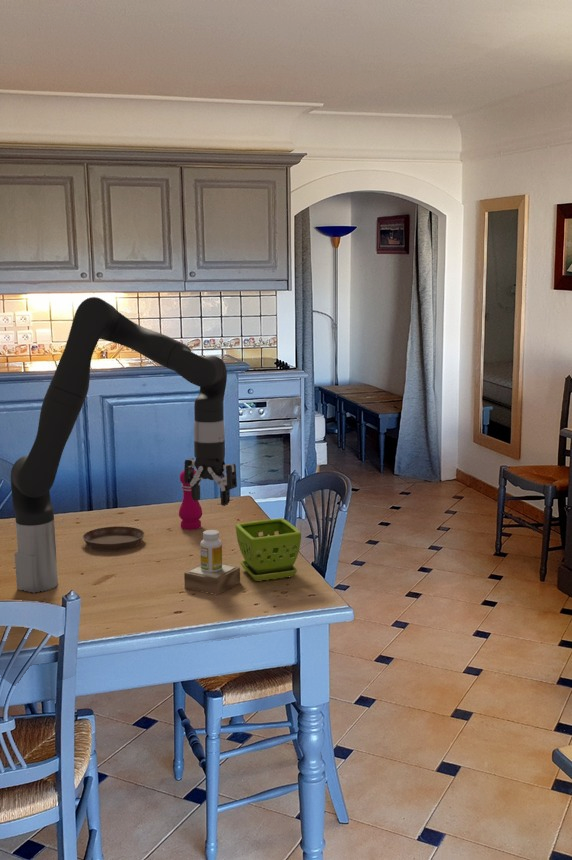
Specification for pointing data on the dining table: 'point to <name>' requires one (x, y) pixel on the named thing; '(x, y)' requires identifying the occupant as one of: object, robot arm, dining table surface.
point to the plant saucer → (113, 538)
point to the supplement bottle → (211, 551)
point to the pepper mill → (189, 508)
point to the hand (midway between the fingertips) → (210, 502)
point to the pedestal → (212, 579)
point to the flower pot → (268, 548)
